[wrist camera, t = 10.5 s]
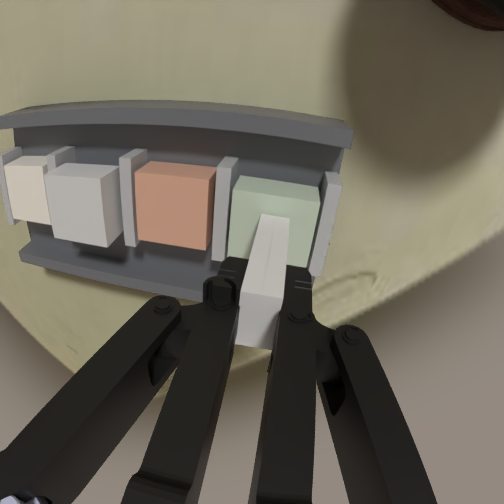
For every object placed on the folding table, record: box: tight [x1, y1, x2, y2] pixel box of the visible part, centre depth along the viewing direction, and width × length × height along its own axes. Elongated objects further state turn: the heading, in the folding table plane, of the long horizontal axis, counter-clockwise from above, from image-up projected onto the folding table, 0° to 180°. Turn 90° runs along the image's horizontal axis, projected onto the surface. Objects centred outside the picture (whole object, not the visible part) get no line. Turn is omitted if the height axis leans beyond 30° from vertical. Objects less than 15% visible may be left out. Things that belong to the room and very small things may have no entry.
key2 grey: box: [44, 163, 124, 248], centre depth 19 cm, size 4×4×2 cm
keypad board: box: [0, 100, 354, 302], centre depth 21 cm, size 25×13×4 cm, turn 84°
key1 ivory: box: [4, 156, 52, 225], centre depth 20 cm, size 4×4×2 cm
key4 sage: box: [227, 175, 320, 268], centre depth 19 cm, size 4×4×2 cm
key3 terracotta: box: [135, 161, 217, 251], centre depth 20 cm, size 4×4×2 cm
